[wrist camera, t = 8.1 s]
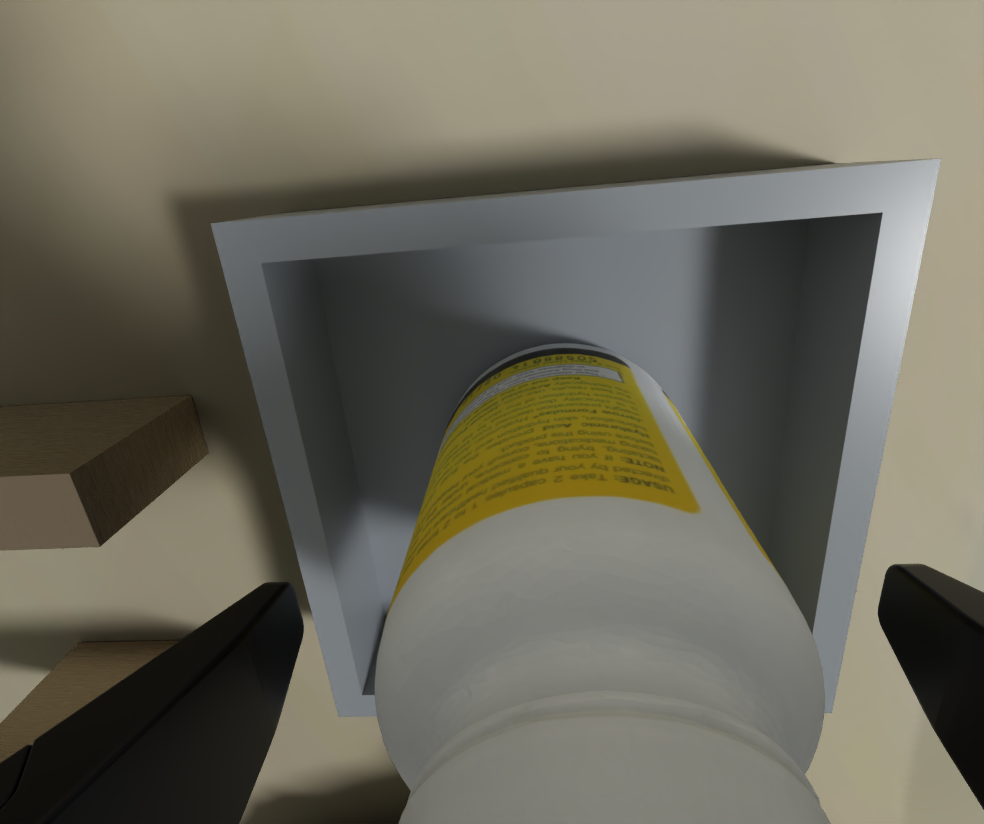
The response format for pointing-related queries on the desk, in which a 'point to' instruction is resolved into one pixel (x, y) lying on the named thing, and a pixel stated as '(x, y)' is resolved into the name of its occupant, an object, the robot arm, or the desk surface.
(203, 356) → the desk surface
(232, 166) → the desk surface
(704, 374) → the tray
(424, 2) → the desk surface
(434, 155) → the desk surface
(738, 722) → the supplement bottle
